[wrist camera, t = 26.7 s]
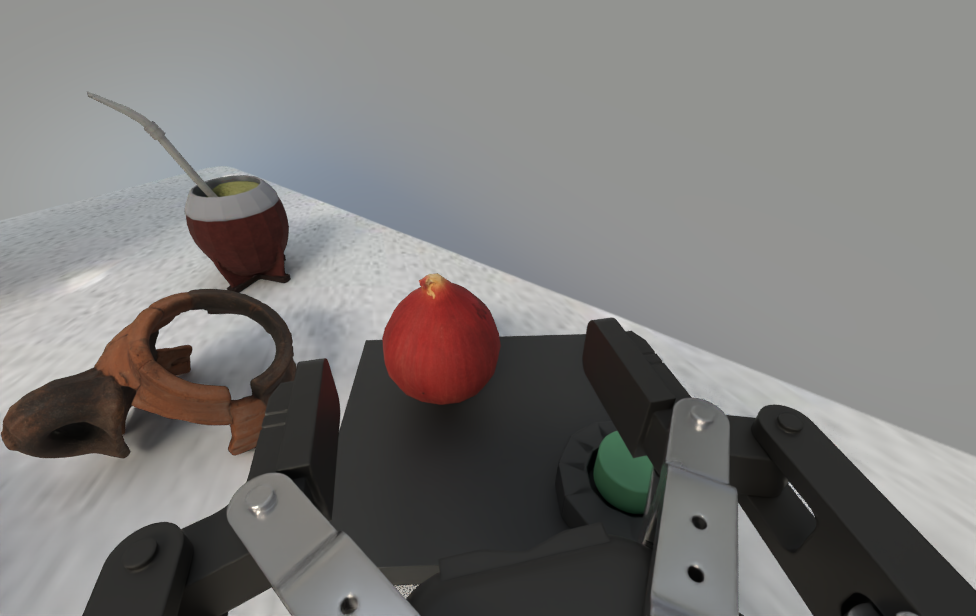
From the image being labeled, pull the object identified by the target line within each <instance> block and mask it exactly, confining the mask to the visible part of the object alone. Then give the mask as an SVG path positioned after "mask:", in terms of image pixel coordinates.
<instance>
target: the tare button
mask: <svg viewBox="0 0 976 616" xmlns="http://www.w3.org/2000/svg"><path fill="white" fill-rule="evenodd" d="M652 466H653V465H652V463H651V461H650V460H649V458H648V456H642V457H637V458H633V457H632V455H631V454H630V452H629V450H628V448H627V447H626V445H625V443H624V441H623V440H622V438H621V436H620V434H619V433H618V431H615V432H612V433H610V434H609V435H607V436H606V437H605V438H604V439H603V440H602V442H601V443H600V446H599V449H598V453H597V458H596V462H595V466H594V472H593V475H594V481H595V484H596V487H597V489H598V491H599V492H600V494H601V495H602V496H603V497H604V499H605V500H606V501H607V502H609V503H610V504H611V505H613V506H614V507H616V508H618V509H620V510H622V511H625V512H628V513H633V514H644V508H645V503H646V497H647V491H648V486H649V480H650V474H651V469H652Z"/></svg>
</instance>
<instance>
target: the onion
mask: <svg viewBox="0 0 976 616" xmlns="http://www.w3.org/2000/svg"><path fill="white" fill-rule="evenodd" d="M419 282H420V286H422V287H420V288H418V289H416V290H414V291H413V292H411V293H410V294H409V295H408V296H407V297H406V298H405V299H404V300H402V301H401V302H400V303H399V304H398V306H397V307H396V309H395V310H394V312H393V314H392V316H391V318H390V320H389V322H388V324H387V325H386V327H385V331H384V334H383V338H382V339H383V352H384V360H385V365H386V368H387V371H388V374H389V376H390V377H391V379H392V380H393V381H394V382H395V383H396V384H397V385H398V386H399V388H400V389H401V390H402V391H403V392H404V393H405V394H406V395H408V396H410V397H412V398H415V399H417V400H419V401H421V402H426V403H433V404H439V405H443V404H452V403H460V402H462V401H464V400H466V399H469V398H471V397H473V396H475V395H477V394H478V392H479V391H480V390H481V389H482V388H483V387H484V386H485V385H486V384H487V383H488V381H489V380H490V379H491V377H492V376H493V375H494V372H495V369H496V365H497V361H498V356H499V351H500V347H501V345H500V338H499V332H498V330H497V327H496V324H495V322H494V319H493V317H492V314H491V312H490V310H489V309H488V308H487V306H486V305H485V304H484V303H483V302H482V301H481V300H480V299H479V298H477V297H476V296H475V295H474V294H472V293H471V292H470V291H468V290H467V289H465V288H464V287H462V286H460V285H457V284H454V283H451V282H450V281H448V280H446V279H445V278H444V277H442V276H441V275H439V274H438V273H437V274H429V275H427V276H425V277H424V278H423V279H421V280H419Z"/></svg>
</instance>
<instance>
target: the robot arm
mask: <svg viewBox="0 0 976 616" xmlns="http://www.w3.org/2000/svg"><path fill="white" fill-rule="evenodd" d="M582 363H583V369H584V372H585V374H586V376H587V378H588V380H589V382H590V384H591V385H592V387H593V389H594V391H595V392H596V394H597V396H598V398H599V399H600V401H601V403H602V405H603V406H604V408H605V410H606V412H607V413H608V415H609V417H610V419H611V420H612V422H613V424H614V426H615V427H616V429H617V431H618V433H619V434H620V436H621V438H622V440H623V441H624V443H625V445H626V447H627V448H628V450H629V452H630V454H631V455H632V457H633V458H637V457H642V456H648V458H649V460H650V461H651V463H652V465H653V466H652V469H651V474H650V480H649V486H648V491H647V497H646V503H645V508H644V514H643V520H642V525H641V529H640V533H639V536H638V540H637V542H636V541H634V540H631V539H628V538H625V537H622V536H617V535H611V534H607V532H606V530H605V527H604V525H603V523H602V522H599V523H594V524H590V525H586V526H581V527H577V528H572V529H568V530H564V531H562V532H560V533H558V534H557V535H555V536H553V537H551V538H549V539H548V540H546V541H544V542H542V543H540V544H539V545H537V546H535V547H533V548H531V549H529V550H527V551H506V550H486V549H479V550H475V551H471V552H466V553H462V554H457V555H453V556H448V557H444V558H440V559H438V562H439V571H440V572H438V573H436V574H434V575H433V576H431V577H429V578H428V579H427V580H425V581H424V582H422V583H421V584H420V585H419V586H418V587H417V588H416V589H415V590H414V591H412V593H411V594H410V595H409V596H408V597H407V598H406V599H405V598H404V597H403V596H402V594H401V593H400V592H399V591H398V590H397V589H396V588H395V587H394V586H393V584H392V583H391V582H390V581H389V580H388V579H387V578H386V577H385V576H384V574H383V573H382V572H381V571H380V570H379V569H378V568H377V567H376V566H375V564H374V563H373V562H372V561H371V560H370V559H369V558H368V557H367V556H366V554H365V553H364V552H363V551H362V550H361V549H360V548H359V547H358V546H357V545H356V543H355V542H354V541H353V540H352V539H351V538H350V537H349V536H348V535H347V534H346V533H345V532H343V531H340V532H338V531H337V530H336V529H335V528H334V527H333V526H332V525H331V524H330V523H329V522H328V521H332V513H333V500H334V488H335V475H336V462H337V449H338V437H339V424H340V403H339V397H338V393H337V390H336V386H335V383H334V379H333V376H332V373H331V369H330V366H329V362H328V360H327V359H326V358H323V359H316V360H309V361H302V362H299V363H298V364H297V368H296V373H295V378H294V381H290V382H283V383H280V384H279V385H278V387H277V388H276V389H275V391H274V392H273V393H272V394H271V396H270V397H269V399H268V403H267V407H266V411H265V417H264V419H263V422H262V426H261V427H262V430H260V434H259V438H258V441H257V445H256V449H255V453H254V457H253V461H252V464H251V468H250V472H249V476H248V479H247V482H246V483H245V484H244V485H243V486H242V487H240V488H239V489H238V490H237V492H236V493H235V494H234V495H233V497H232V499H231V500H230V503H229V504H228V505H227V506H226V507H225V508H223V509H221V510H220V511H218V512H217V513H215V514H213V515H211V516H209V517H206V518H204V519H202V520H200V521H198V522H196V523H193V524H191V525H189V526H187V527H185V528H183V529H180V528H179V527H178V526H177V525H175V524H173V523H169V522H159V523H154V524H151V525H148V526H145V527H143V528H141V529H139V530H137V531H135V532H134V533H132V534H131V535H129V536H128V537H127V538H125V539H124V540H123V541H122V542H121V543H120V544H119V545H118V546H117V547H116V548H115V549H114V550H113V551H112V552H111V553H110V555H109V556H108V558H107V559H106V561H105V563H104V565H103V567H102V570H101V572H100V575H99V577H98V579H97V582H96V584H95V587H94V589H93V591H92V594H91V596H90V599H89V601H88V603H87V606H86V608H85V611H84V613H83V615H82V616H228V611H230V610H231V609H233V608H235V607H237V606H239V605H240V604H242V603H244V602H246V601H248V600H249V599H251V598H253V597H255V596H257V595H258V594H260V593H262V592H264V591H266V590H267V589H269V588H271V587H272V588H273V590H274V591H275V592H276V594H277V595H278V597H279V598H280V600H281V601H282V603H283V604H284V606H285V607H286V608H287V610H288V611H289V613H290V614H291V616H743V615H742V614H741V613H739V598H738V503H739V504H740V506H741V507H742V509H743V510H744V512H745V513H746V515H747V516H748V518H749V519H750V521H751V522H752V524H753V525H754V527H755V528H756V530H757V531H758V533H759V534H760V536H761V537H762V539H763V540H764V542H765V543H766V545H767V546H768V548H769V549H770V551H771V552H772V554H773V555H774V557H775V558H776V560H777V561H778V563H779V564H780V566H781V568H782V569H783V571H784V572H785V574H786V575H787V577H788V578H789V580H790V581H791V583H792V584H793V586H794V587H795V589H796V590H797V592H798V593H799V595H800V596H801V598H802V599H803V601H804V602H805V604H806V605H807V607H808V608H809V610H810V611H811V613H812V614H813V616H976V590H975V589H974V588H973V587H972V586H971V585H970V584H969V583H968V582H967V581H966V580H965V579H964V578H963V577H962V576H961V575H960V574H959V573H958V572H957V571H956V570H955V569H954V568H953V567H952V566H951V564H950V563H949V562H948V561H947V560H946V559H945V558H944V557H943V556H942V555H941V554H940V553H939V552H938V551H937V550H936V549H935V548H934V547H933V546H932V545H931V544H930V543H929V542H928V541H927V540H926V539H925V538H924V537H923V536H922V534H921V533H920V532H919V531H918V530H917V529H916V528H915V527H914V526H913V525H912V524H911V523H910V522H909V521H908V520H907V519H906V518H905V517H904V516H903V515H902V514H901V513H900V512H899V511H898V510H897V509H896V508H895V507H894V506H893V505H892V503H891V502H890V501H889V500H888V499H887V498H886V497H885V496H884V495H883V494H882V493H881V492H880V491H879V490H878V489H877V488H876V487H875V486H874V485H873V484H872V483H871V482H870V481H869V480H868V479H867V478H866V477H865V476H864V475H863V473H862V472H861V471H860V470H859V469H858V468H857V467H856V466H855V465H854V464H853V463H852V462H851V461H850V460H849V459H848V458H847V457H846V456H845V455H844V454H843V453H842V452H841V451H840V450H839V449H838V448H837V447H836V446H835V445H834V443H833V442H832V441H831V440H830V439H829V438H828V437H827V436H826V435H825V434H824V433H823V432H822V431H821V430H820V429H819V428H818V427H817V426H816V425H815V424H814V423H813V422H812V421H811V420H810V419H809V418H808V417H806V416H805V415H804V414H802V413H800V412H799V411H797V410H795V409H792V408H790V407H786V406H782V405H768V406H765V407H763V408H762V409H761V410H760V411H759V413H758V415H757V417H756V418H751V417H741V416H731V415H725V414H724V412H723V411H722V410H721V409H720V408H718V407H717V406H715V405H714V404H712V403H710V402H708V401H705V400H703V399H698V398H692V397H691V396H690V395H689V394H688V392H687V391H686V390H685V389H684V387H683V386H682V385H681V384H680V382H679V381H678V380H677V379H676V377H675V376H674V375H673V374H672V373H671V371H670V370H669V369H668V368H667V366H666V365H665V364H664V363H662V360H661V359H660V358H659V356H658V355H657V354H655V351H654V350H653V349H652V348H651V346H650V345H649V344H648V343H647V341H646V340H645V339H643V338H641V337H640V336H638V335H637V334H635V333H634V332H632V331H627V332H625V330H624V329H623V328H622V327H621V325H620V324H619V323H618V321H617V320H616V319H615V318H605V319H598V320H591V321H589V323H588V326H587V332H586V338H585V344H584V350H583V356H582ZM788 482H790V483H791V484H792V485H793V487H794V488H795V489H796V490H797V492H798V493H799V494H800V495H801V497H802V498H803V499H804V500H805V502H806V503H807V504H808V505H809V507H810V508H811V510H812V511H813V513H814V516H815V517H814V516H813V515H812V514H811V512H810V511H809V510H808V509H807V507H806V506H805V505H804V504H803V502H802V501H801V500H800V499H799V497H798V496H797V495H796V493H795V492H794V491H793V490H792V488H791V487H790V486H789V485H788Z"/></svg>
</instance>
